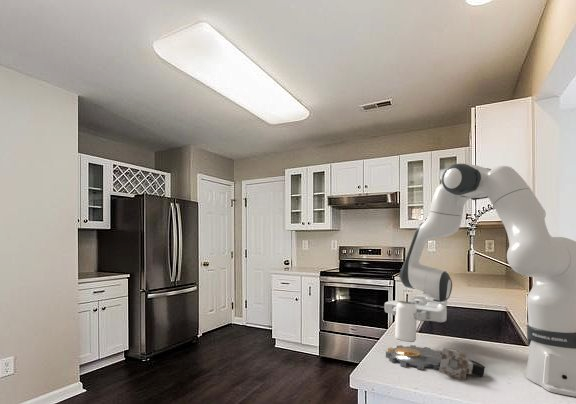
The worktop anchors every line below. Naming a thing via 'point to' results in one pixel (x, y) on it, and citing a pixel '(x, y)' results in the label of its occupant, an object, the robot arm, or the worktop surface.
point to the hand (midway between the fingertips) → (404, 314)
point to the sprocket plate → (415, 357)
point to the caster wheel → (459, 365)
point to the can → (405, 321)
